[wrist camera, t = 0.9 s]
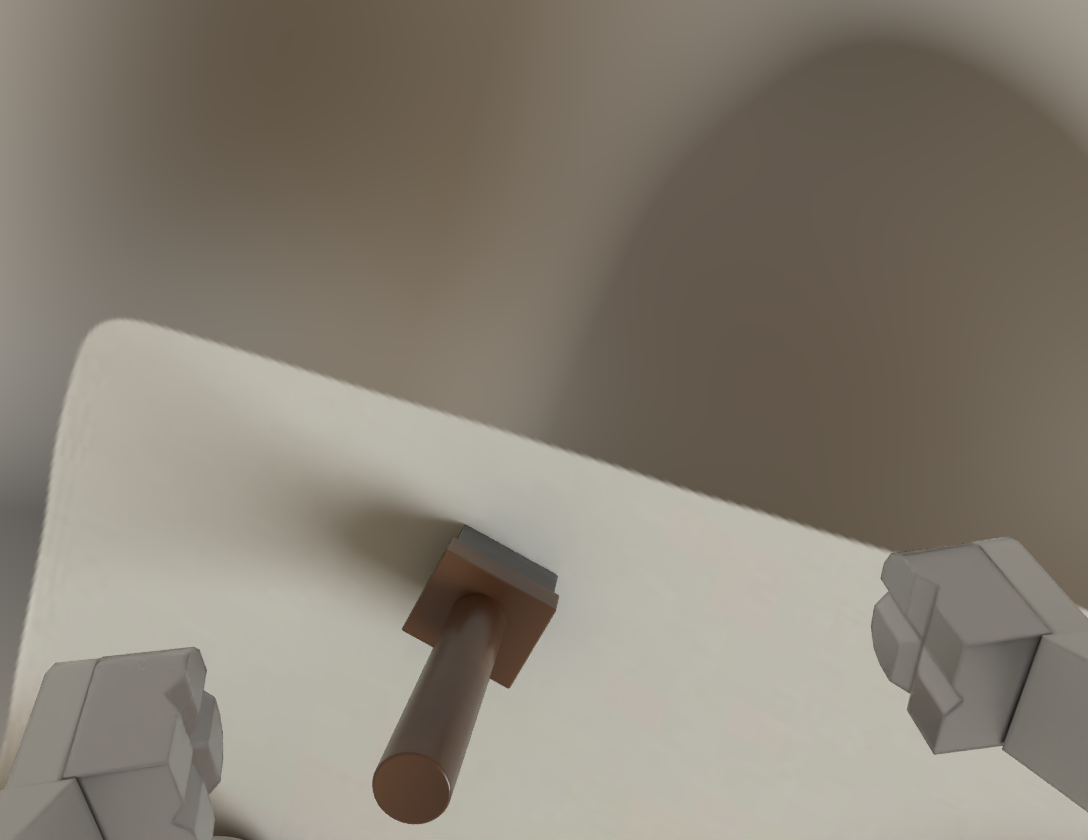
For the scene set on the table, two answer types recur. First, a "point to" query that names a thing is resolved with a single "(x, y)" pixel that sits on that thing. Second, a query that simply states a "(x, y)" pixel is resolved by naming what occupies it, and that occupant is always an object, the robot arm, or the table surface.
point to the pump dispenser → (224, 838)
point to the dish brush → (460, 666)
